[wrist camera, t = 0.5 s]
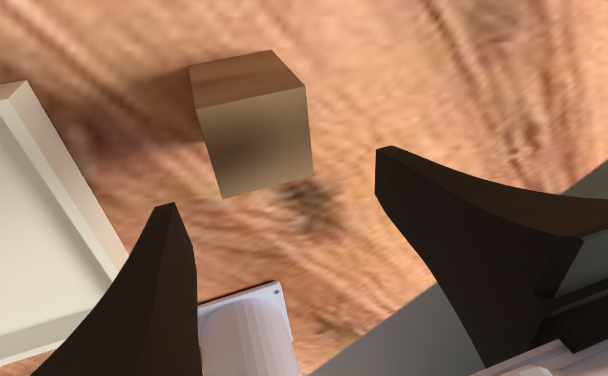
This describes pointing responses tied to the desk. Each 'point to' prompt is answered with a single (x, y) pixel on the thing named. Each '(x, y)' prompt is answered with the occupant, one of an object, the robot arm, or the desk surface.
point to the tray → (46, 233)
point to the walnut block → (252, 121)
